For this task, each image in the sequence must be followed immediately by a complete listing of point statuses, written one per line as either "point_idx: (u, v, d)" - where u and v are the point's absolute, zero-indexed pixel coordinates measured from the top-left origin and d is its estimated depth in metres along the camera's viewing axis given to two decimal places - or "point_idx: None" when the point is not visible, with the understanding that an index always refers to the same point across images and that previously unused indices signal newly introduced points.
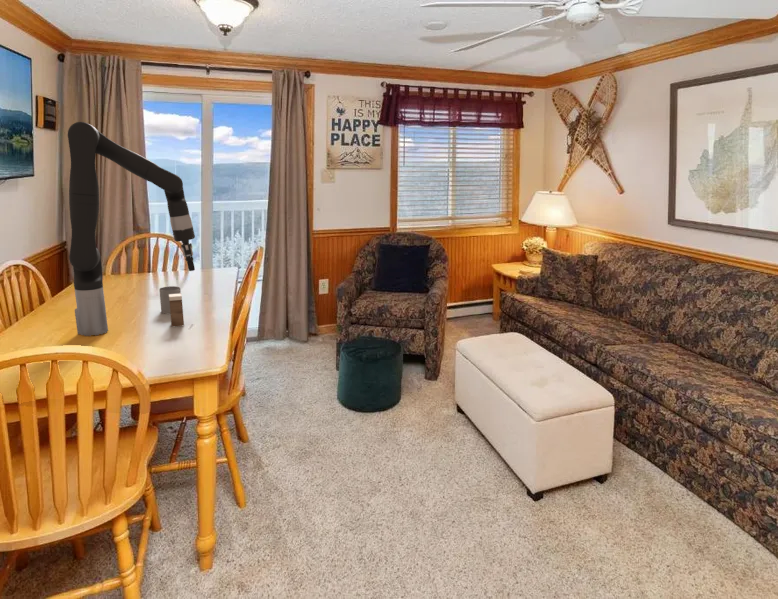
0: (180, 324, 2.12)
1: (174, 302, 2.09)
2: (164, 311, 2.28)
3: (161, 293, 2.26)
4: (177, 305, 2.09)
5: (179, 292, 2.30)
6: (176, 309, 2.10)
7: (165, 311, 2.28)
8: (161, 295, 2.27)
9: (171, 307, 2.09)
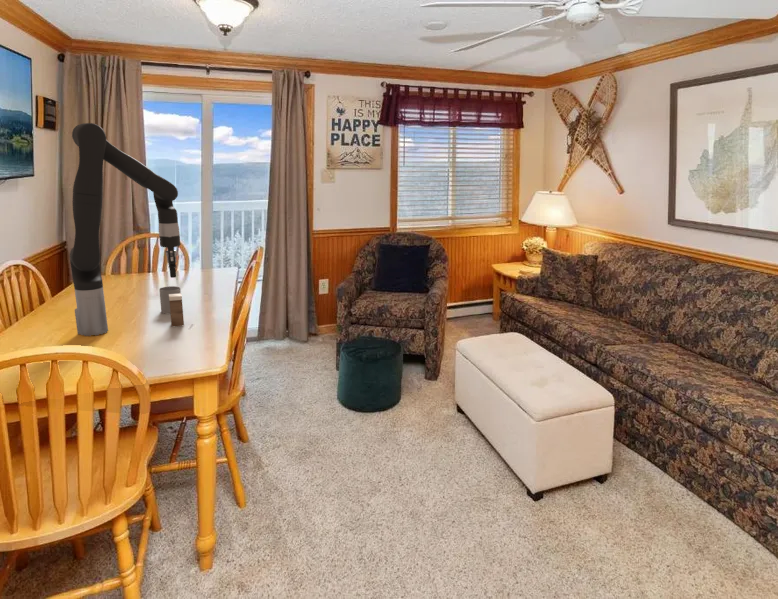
0: (180, 324, 2.12)
1: (174, 302, 2.09)
2: (164, 311, 2.28)
3: (161, 293, 2.26)
4: (177, 305, 2.09)
5: (179, 292, 2.30)
6: (176, 309, 2.10)
7: (165, 311, 2.28)
8: (161, 295, 2.27)
9: (171, 307, 2.09)
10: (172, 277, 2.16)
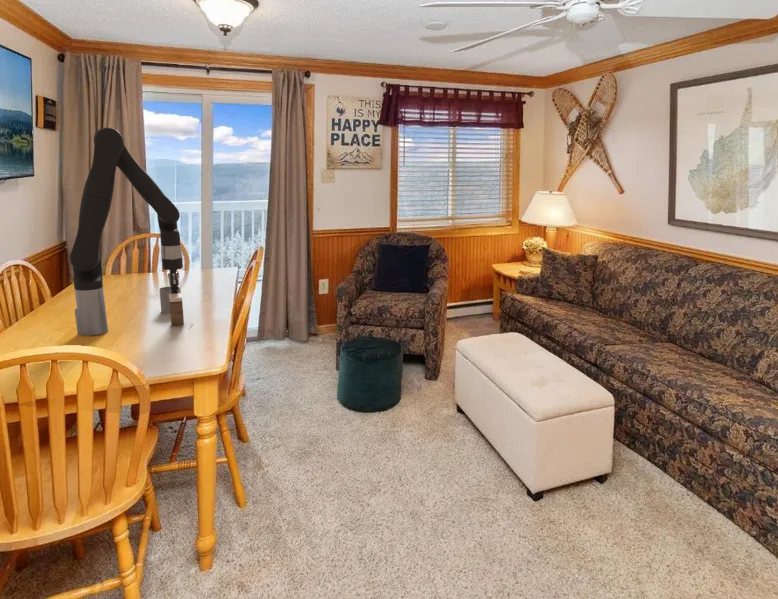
0: (180, 324, 2.11)
1: (174, 303, 2.07)
2: (164, 311, 2.28)
3: (161, 293, 2.26)
4: (177, 306, 2.08)
5: (179, 292, 2.30)
6: (176, 310, 2.09)
7: (165, 311, 2.28)
8: (161, 295, 2.27)
9: (171, 308, 2.08)
10: None
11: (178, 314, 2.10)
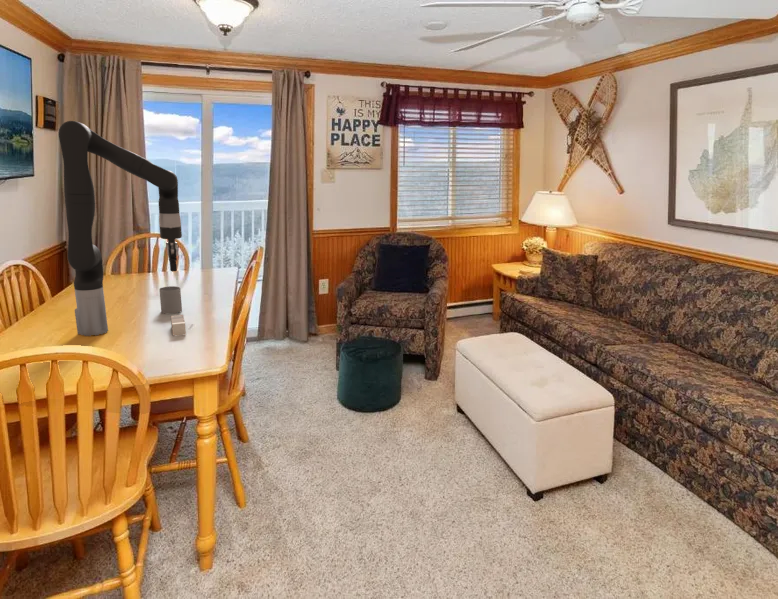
0: None
1: None
2: (164, 311, 2.28)
3: (161, 293, 2.26)
4: None
5: (179, 292, 2.30)
6: None
7: (165, 311, 2.28)
8: (161, 295, 2.27)
9: None
10: None
11: None
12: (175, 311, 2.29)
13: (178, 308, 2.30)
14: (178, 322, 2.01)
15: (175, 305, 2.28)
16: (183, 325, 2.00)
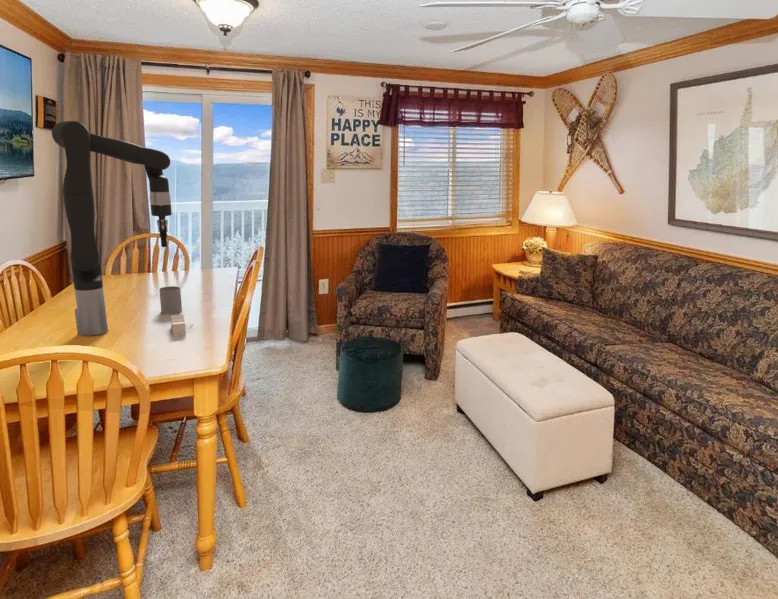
0: None
1: None
2: (164, 311, 2.28)
3: (161, 293, 2.26)
4: None
5: (179, 292, 2.30)
6: None
7: (165, 311, 2.28)
8: (161, 295, 2.27)
9: None
10: None
11: None
12: (175, 311, 2.29)
13: (178, 308, 2.30)
14: (178, 322, 2.01)
15: (175, 305, 2.28)
16: (183, 325, 2.00)
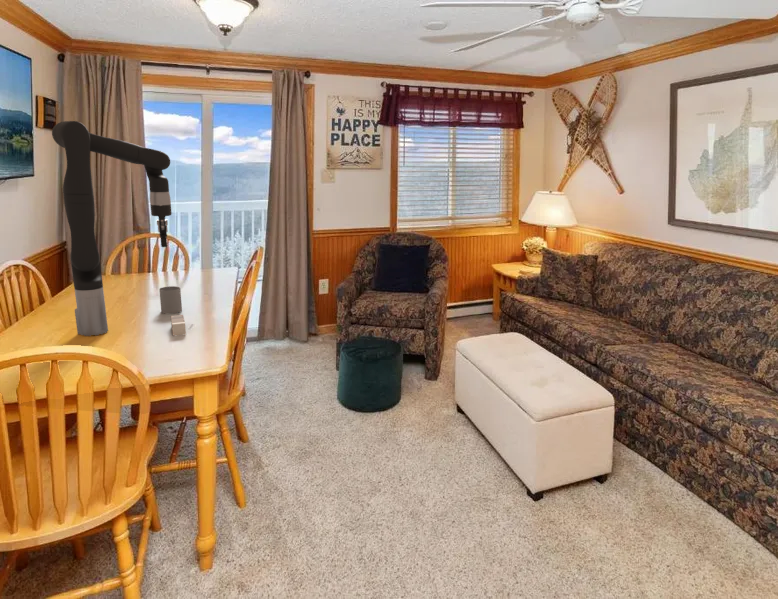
0: None
1: None
2: (164, 311, 2.28)
3: (161, 293, 2.26)
4: None
5: (179, 292, 2.30)
6: None
7: (165, 311, 2.28)
8: (161, 295, 2.27)
9: None
10: None
11: None
12: (175, 311, 2.29)
13: (178, 308, 2.30)
14: (178, 322, 2.01)
15: (175, 305, 2.28)
16: (183, 325, 2.00)
